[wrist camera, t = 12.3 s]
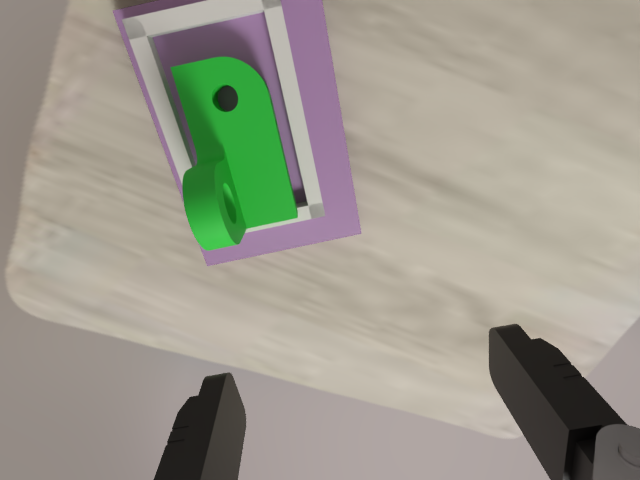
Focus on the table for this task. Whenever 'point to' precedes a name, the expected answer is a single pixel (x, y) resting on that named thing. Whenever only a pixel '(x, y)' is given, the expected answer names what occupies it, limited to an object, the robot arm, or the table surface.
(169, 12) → the door panel
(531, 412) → the robot arm
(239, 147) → the mechanical part
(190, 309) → the table surface
